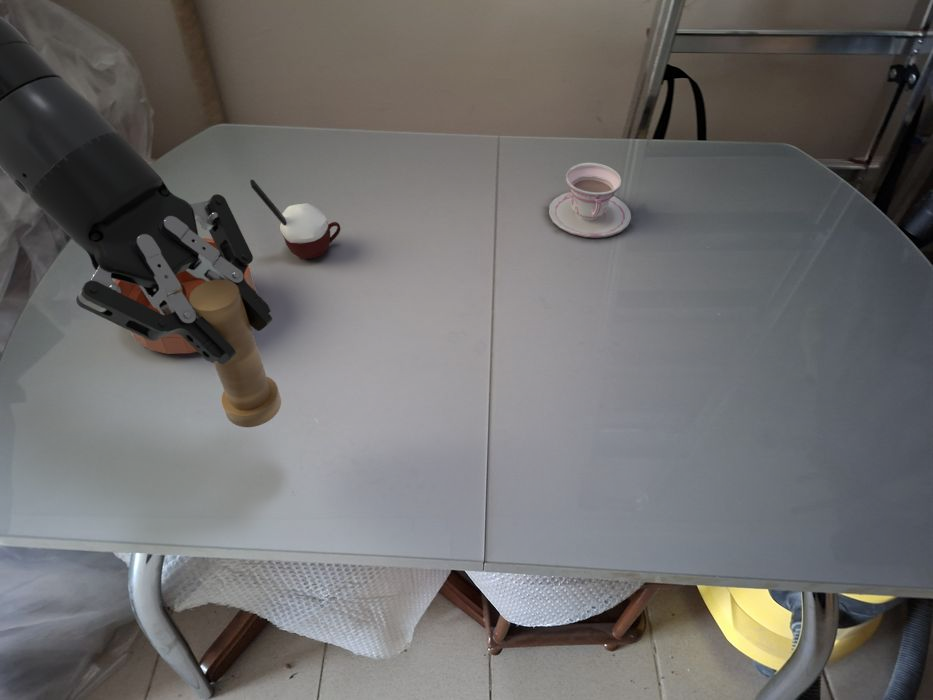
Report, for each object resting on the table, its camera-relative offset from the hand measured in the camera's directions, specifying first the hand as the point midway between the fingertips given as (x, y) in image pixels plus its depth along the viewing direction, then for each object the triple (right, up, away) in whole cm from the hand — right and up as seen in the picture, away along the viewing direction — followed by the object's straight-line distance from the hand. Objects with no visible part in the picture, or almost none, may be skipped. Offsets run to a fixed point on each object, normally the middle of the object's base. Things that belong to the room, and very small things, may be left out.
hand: (247, 341), depth 51 cm
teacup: (+35, +19, +46) cm, 61 cm away
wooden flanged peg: (-2, -6, +7) cm, 9 cm away
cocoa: (-5, +13, +39) cm, 41 cm away
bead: (-19, +6, +29) cm, 35 cm away
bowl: (-16, +4, +30) cm, 34 cm away
